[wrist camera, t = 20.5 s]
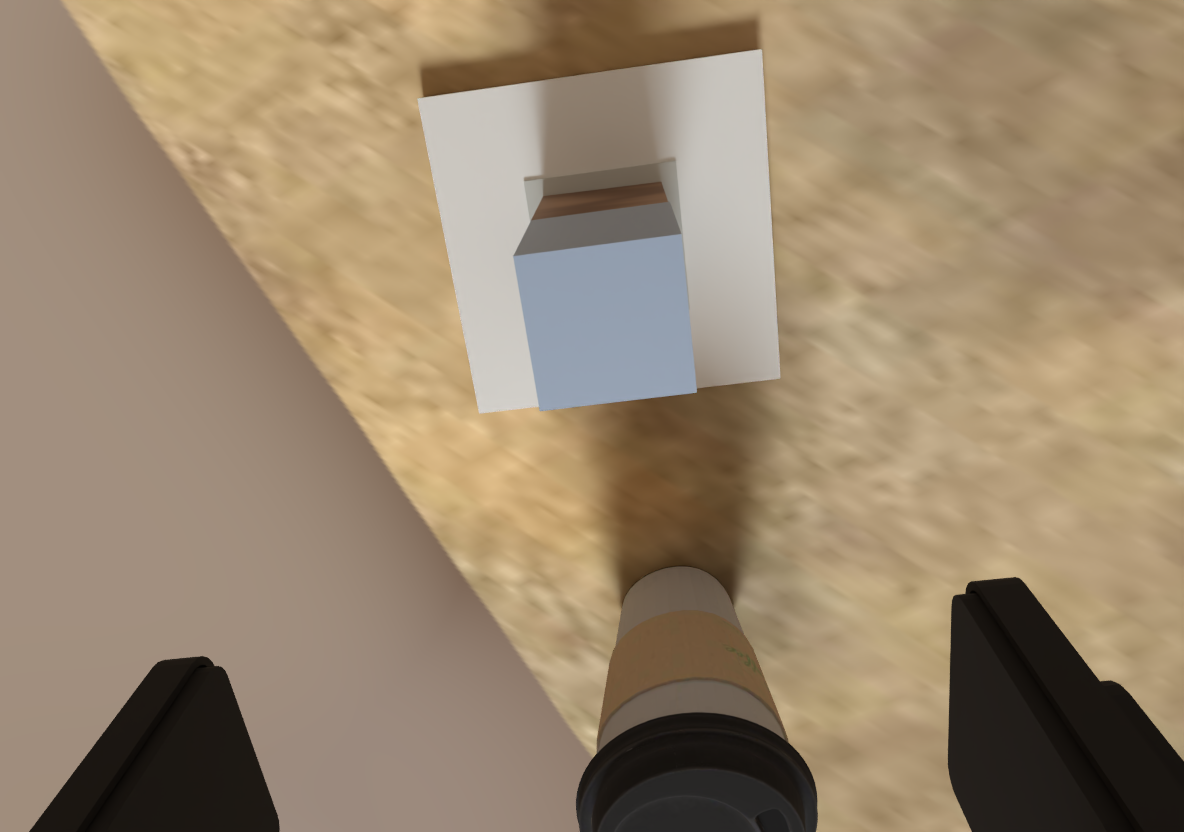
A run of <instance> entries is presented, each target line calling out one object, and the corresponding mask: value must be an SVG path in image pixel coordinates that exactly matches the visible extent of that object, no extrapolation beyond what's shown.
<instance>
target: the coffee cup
mask: <svg viewBox="0 0 1184 832" xmlns="http://www.w3.org/2000/svg"><path fill="white" fill-rule="evenodd" d="M576 810H577V819H578V823H579V828H580V832H816V828H817V820H818V812H817V791H816V786H815V782H814V779H813V776H812V774H811V772H810V770H809V767H808V766H807V764H806V763H805V761H804V759H803V758H802V757H801V756H800V754H799V753H798V752H797V751H796V750H795V749H794V748H793V747H792V746H791V745H790V744H789V743H788V738H787V735H786V732H785V729H784V727H783V724H782V721H781V719H780V716H779V714H778V711H777V708H776V706H775V703H774V701H773V698H772V696H771V693H770V691H769V688H768V686H767V683H766V681H765V678H764V675H763V673H762V670H761V668H760V665H759V663H758V660H757V658H756V655H755V653H754V650H753V648H752V646H751V645H750V643H749V641H748V640H747V638H746V637H745V636H744V633H743V631H742V628H741V625H740V623H739V620H738V618H737V615H736V613H735V610H734V608H733V605H732V603H731V600H730V598H729V596H728V594H727V592H726V591H725V589H724V587H723V586H722V585H721V584H720V583H719V582H718V580H717V579H715V578H714V577H713V576H711V575H710V574H709V573H707V572H705V571H702V570H700V569H697V568H693V567H683V566H677V567H670V568H665V569H661V570H658V571H655V572H653V573H651V574H649V575H647V576H645V577H643V578H642V579H641V580H639V581H638V582H637V583H636V584H635V585H634V586H633V587H632V588H631V589H630V590H629V592H628V593H627V595H626V596H625V599H624V602H623V606H622V611H621V616H620V622H619V628H618V634H617V640H616V646H615V648H614V650H613V653H612V656H611V660H610V664H609V670H608V676H607V682H606V688H605V694H604V700H603V706H602V712H601V718H600V724H599V730H598V736H597V754H596V755H595V756H594V758H593V759H592V760H591V762H590V763H589V765H588V766H587V768H586V770H585V772H584V774H583V776H582V778H581V781H580V784H579V787H578V791H577V798H576Z"/></svg>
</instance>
